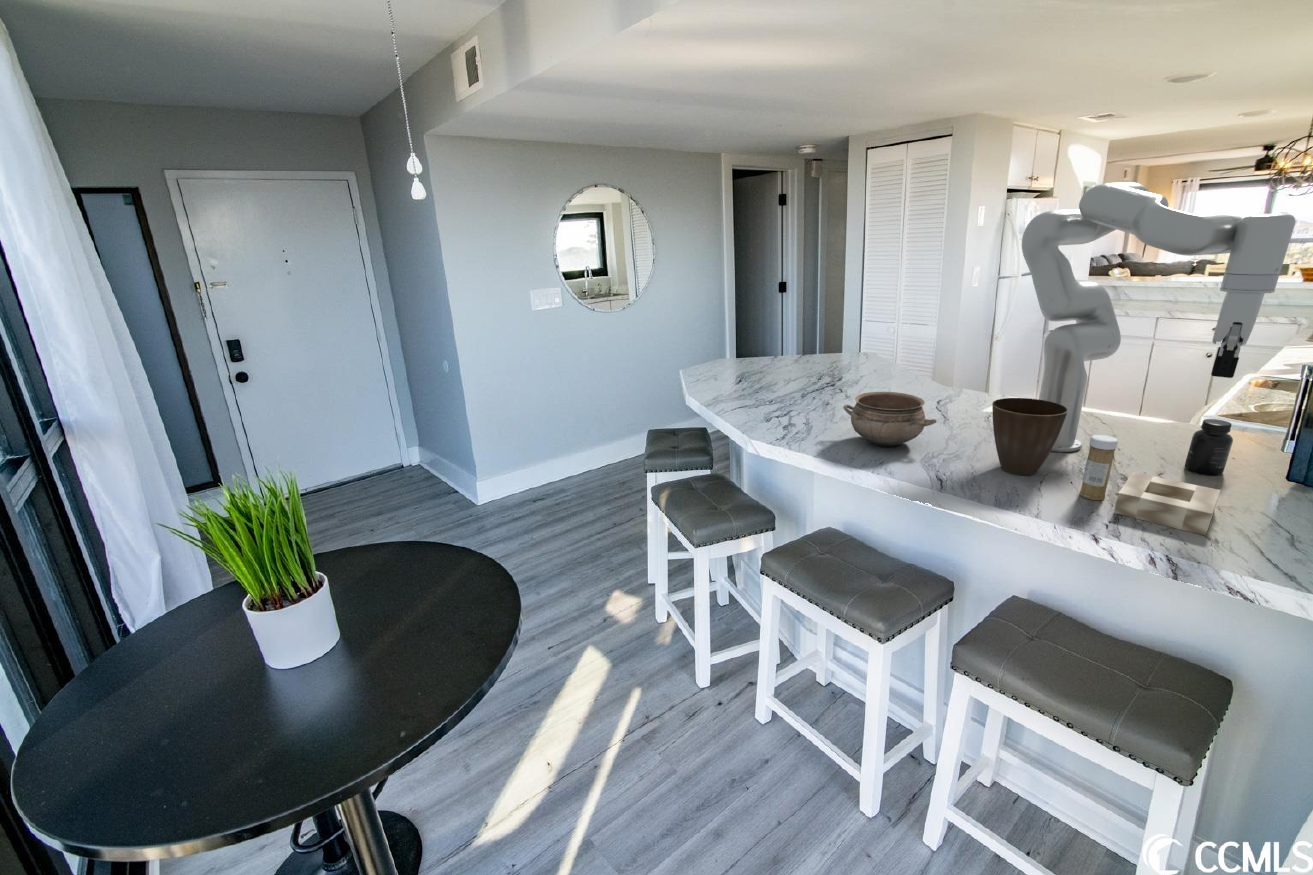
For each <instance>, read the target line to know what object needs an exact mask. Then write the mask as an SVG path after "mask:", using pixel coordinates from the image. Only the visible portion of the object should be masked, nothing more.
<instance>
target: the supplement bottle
mask: <svg viewBox="0 0 1313 875" xmlns="http://www.w3.org/2000/svg"><path fill="white" fill-rule="evenodd" d="M1231 428H1232V423H1231V422H1229V421H1227V420H1223V419H1216V418H1205V419H1203V420H1202V423H1201V426H1200V429H1199V430H1197V431H1195V432H1193V434H1192V437H1191V442H1190V444H1189V448H1188V451H1187V455H1186V459H1185V462H1184V468H1185V469H1186V470H1187V471H1189V472H1191V473H1194V474H1196V475H1201V476H1202V475H1203V476H1207V477H1208V476H1209V477H1217V476H1221V475H1222V474H1223V473H1224V471H1225V468H1226V466H1227V465H1226V464H1227V461H1228V460H1229V455H1230V452H1231V449H1232V445H1233V443H1234V438H1233V437H1232V435H1230V434H1229V433H1230V432H1231Z"/></svg>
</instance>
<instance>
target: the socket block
mask: <svg viewBox="0 0 1313 875" xmlns="http://www.w3.org/2000/svg"><path fill="white" fill-rule="evenodd" d="M1220 493H1221V489H1217V488H1212V487H1209V486H1202V485H1198V484H1192V483H1187V482H1183V481H1178V480H1175V479H1174V480H1173V479H1168V478H1163V477H1158V476H1153V475H1148V474H1143V473H1138V472H1135V471H1134V472H1133V471H1132V472H1131V474H1130V476H1129V477H1128V479H1126V481H1125V482H1124V484H1123V485H1122V487H1121V489H1120V490H1119V491H1118V494H1117V498H1116V502H1115V505H1114V511H1113V514H1117V515H1121V516H1124V517H1125V516H1126V517H1129V518H1133V519H1137V520H1142V521H1146V522H1150V523H1154V524H1158V525H1161V526H1166V527H1170V528H1174V529H1179V530H1181V531H1185V532H1190V533H1193V534H1194V533H1195V534H1198V535H1202V536H1206V535H1207V533H1208V530H1209V527H1210V523H1211V521H1212V518H1213V515H1214V512H1215V510H1216V506H1217V502H1218V500H1219V496H1220Z"/></svg>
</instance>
